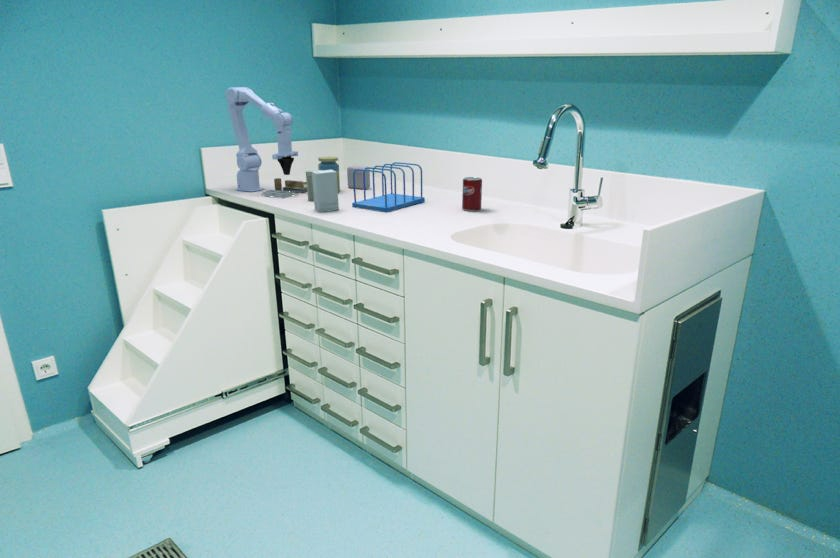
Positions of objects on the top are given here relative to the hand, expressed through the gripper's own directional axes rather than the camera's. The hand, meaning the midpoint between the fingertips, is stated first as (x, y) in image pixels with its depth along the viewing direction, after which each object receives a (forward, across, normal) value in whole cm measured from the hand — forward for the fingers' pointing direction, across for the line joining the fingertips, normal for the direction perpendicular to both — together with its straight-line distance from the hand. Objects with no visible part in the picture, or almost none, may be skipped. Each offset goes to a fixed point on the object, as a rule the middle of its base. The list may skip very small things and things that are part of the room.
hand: (286, 174), depth 252 cm
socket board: (+8, -4, +2) cm, 10 cm away
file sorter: (+9, +1, -50) cm, 51 cm away
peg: (+8, +2, +6) cm, 11 cm away
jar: (+9, +13, -13) cm, 20 cm away
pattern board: (+8, +14, +1) cm, 16 cm away
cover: (+7, +10, +1) cm, 12 cm away
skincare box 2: (+9, -20, -34) cm, 40 cm away
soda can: (+9, +6, -83) cm, 84 cm away
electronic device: (+9, +26, -19) cm, 34 cm away
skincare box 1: (+9, -6, -19) cm, 22 cm away
